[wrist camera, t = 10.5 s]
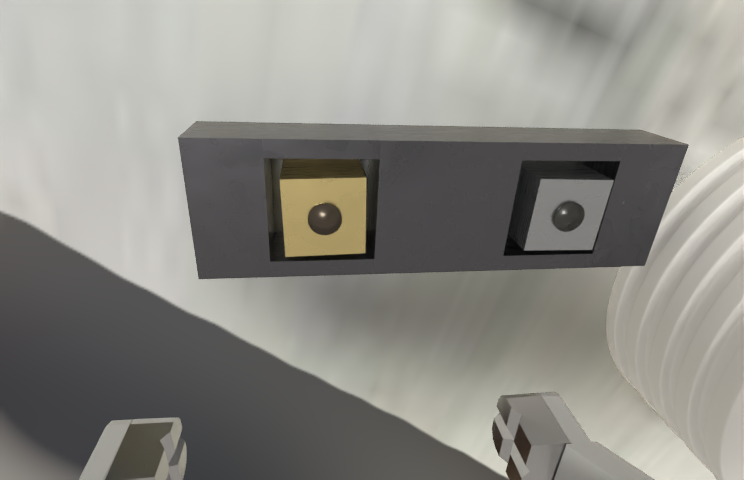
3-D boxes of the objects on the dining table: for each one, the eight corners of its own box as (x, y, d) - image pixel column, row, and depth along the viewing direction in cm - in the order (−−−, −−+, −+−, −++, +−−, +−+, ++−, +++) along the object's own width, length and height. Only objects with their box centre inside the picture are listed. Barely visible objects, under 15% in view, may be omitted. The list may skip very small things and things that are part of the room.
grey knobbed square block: (566, 156, 29) (616, 181, 24) (550, 217, 31) (593, 251, 26) (504, 154, 28) (542, 180, 24) (492, 217, 30) (525, 252, 26)
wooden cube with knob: (356, 152, 27) (366, 178, 22) (355, 218, 29) (365, 254, 24) (283, 153, 26) (279, 180, 22) (288, 220, 28) (285, 258, 24)
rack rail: (641, 129, 29) (688, 144, 25) (607, 239, 32) (644, 265, 29) (196, 121, 25) (178, 137, 21) (212, 247, 28) (199, 279, 25)
